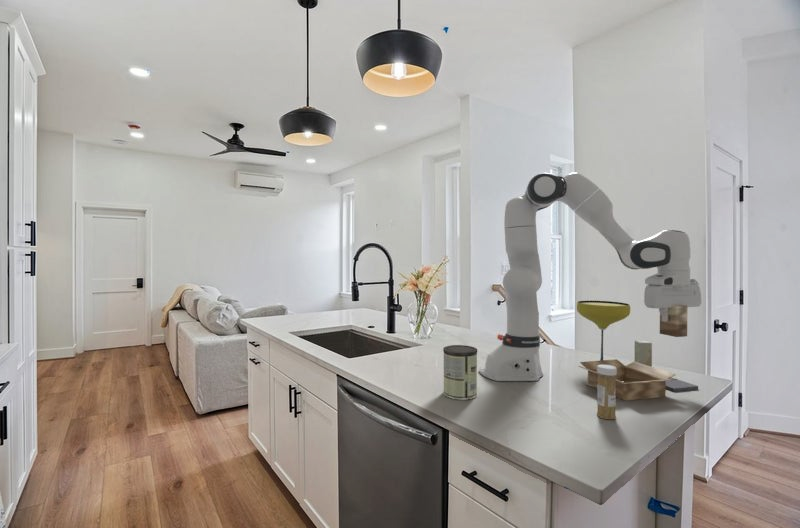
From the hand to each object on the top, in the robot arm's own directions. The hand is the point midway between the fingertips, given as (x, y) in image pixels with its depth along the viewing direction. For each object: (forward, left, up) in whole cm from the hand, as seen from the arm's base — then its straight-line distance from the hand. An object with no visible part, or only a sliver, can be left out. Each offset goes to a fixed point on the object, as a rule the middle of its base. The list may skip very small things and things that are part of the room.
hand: (673, 321), depth 130 cm
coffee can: (-72, +9, -22) cm, 76 cm away
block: (0, 0, -5) cm, 5 cm away
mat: (0, 0, -22) cm, 22 cm away
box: (+5, +16, -22) cm, 27 cm away
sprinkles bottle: (-41, -16, -22) cm, 49 cm away
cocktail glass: (-8, +22, -22) cm, 32 cm away
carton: (-19, 0, -22) cm, 29 cm away
